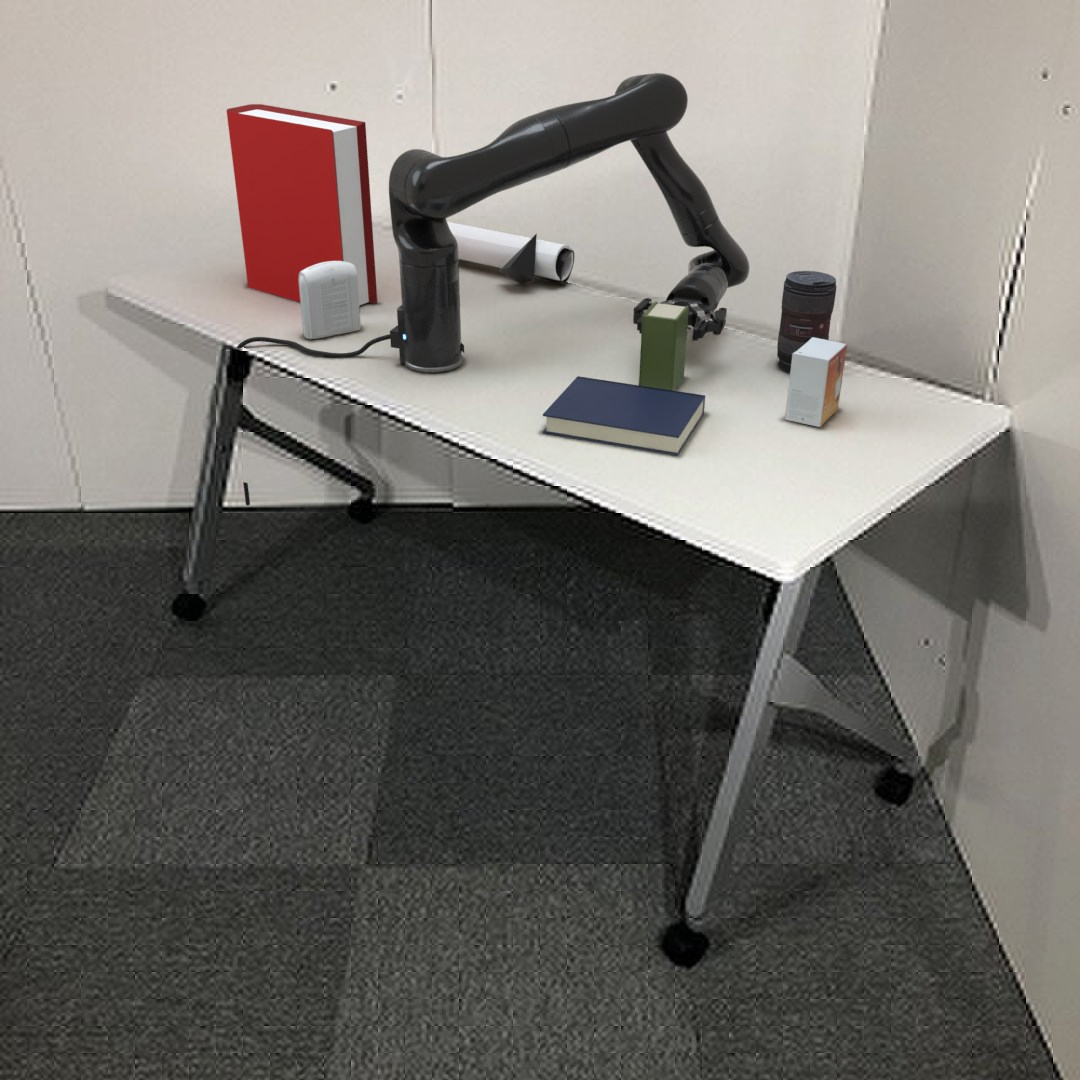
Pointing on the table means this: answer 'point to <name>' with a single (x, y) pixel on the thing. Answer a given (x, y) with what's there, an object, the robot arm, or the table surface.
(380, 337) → the robot arm
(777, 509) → the table surface
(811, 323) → the camera lens
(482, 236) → the diploma
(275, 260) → the book
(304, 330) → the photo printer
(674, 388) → the dictionary
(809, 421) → the small box
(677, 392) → the block
